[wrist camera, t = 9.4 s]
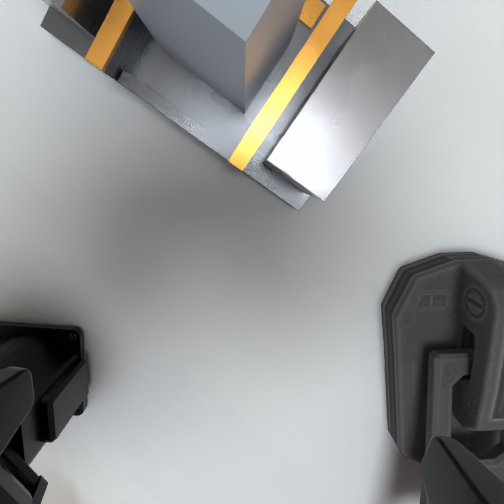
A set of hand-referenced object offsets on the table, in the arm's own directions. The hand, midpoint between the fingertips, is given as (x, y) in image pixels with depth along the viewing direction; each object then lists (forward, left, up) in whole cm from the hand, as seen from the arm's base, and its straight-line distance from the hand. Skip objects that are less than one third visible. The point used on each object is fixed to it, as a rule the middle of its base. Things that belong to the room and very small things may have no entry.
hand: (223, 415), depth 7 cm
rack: (-1, +11, -13) cm, 17 cm away
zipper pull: (+15, -11, -14) cm, 23 cm away
